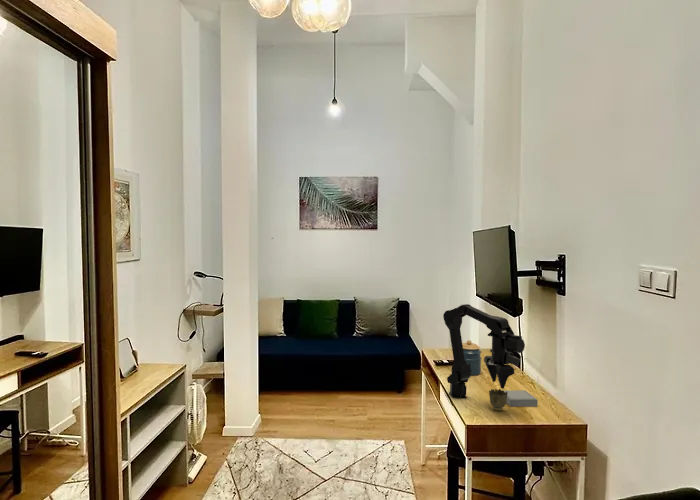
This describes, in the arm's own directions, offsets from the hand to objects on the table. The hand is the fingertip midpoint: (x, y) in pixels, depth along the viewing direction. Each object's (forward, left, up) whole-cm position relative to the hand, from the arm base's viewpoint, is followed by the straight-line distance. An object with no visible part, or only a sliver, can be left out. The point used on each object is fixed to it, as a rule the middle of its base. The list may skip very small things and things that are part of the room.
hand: (498, 384), depth 189 cm
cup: (0, 0, -11) cm, 11 cm away
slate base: (+13, +10, -11) cm, 20 cm away
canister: (+5, +55, -11) cm, 56 cm away
